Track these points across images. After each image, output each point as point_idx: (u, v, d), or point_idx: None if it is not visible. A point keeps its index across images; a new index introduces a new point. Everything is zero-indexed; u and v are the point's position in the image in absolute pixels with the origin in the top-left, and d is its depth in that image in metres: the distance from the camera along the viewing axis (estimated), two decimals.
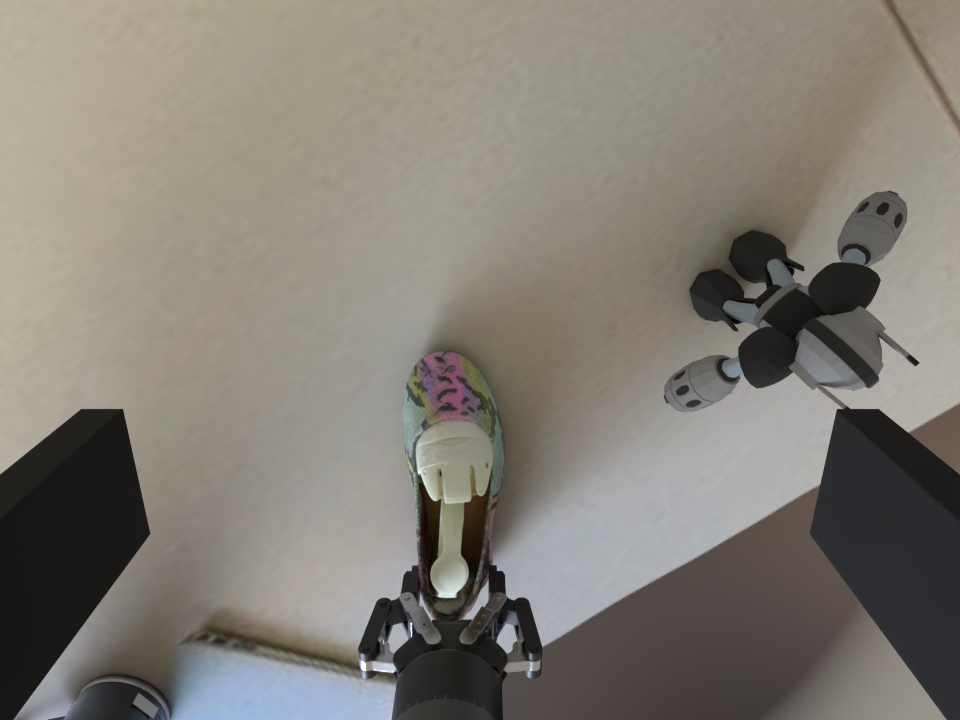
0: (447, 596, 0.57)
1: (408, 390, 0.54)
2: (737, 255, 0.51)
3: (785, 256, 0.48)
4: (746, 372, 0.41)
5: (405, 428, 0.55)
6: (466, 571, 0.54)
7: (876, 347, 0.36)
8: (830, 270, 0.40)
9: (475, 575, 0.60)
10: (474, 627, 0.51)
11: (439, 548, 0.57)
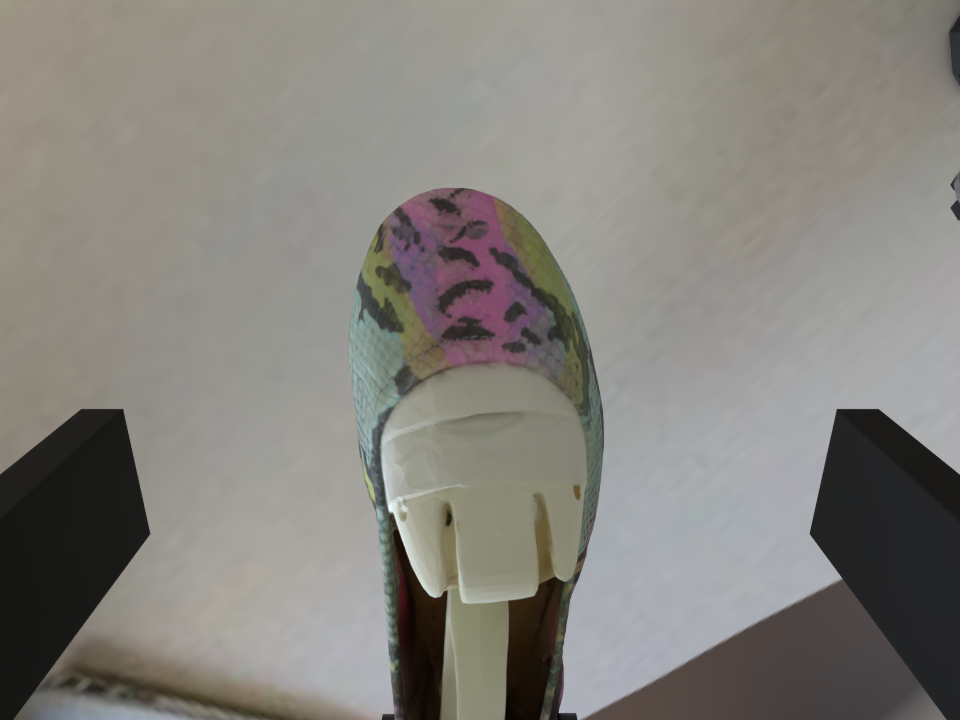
0: None
1: (361, 293, 0.20)
2: None
3: None
4: None
5: (357, 393, 0.21)
6: None
7: None
8: None
9: None
10: None
11: (444, 685, 0.24)
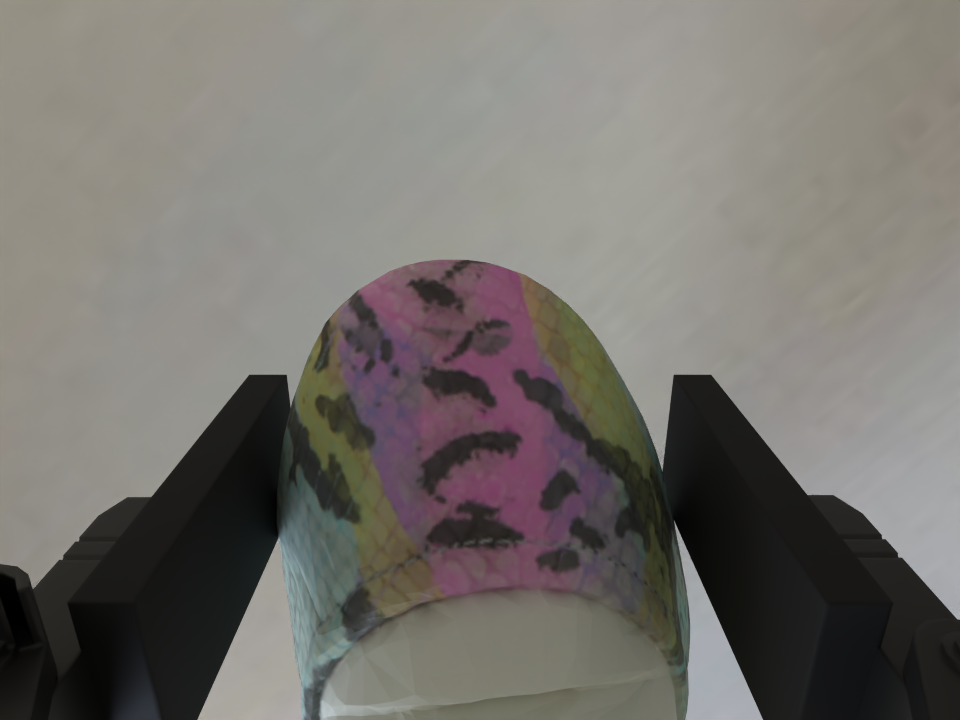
0: None
1: (293, 436, 0.12)
2: None
3: None
4: None
5: (289, 592, 0.13)
6: None
7: None
8: None
9: None
10: None
11: None
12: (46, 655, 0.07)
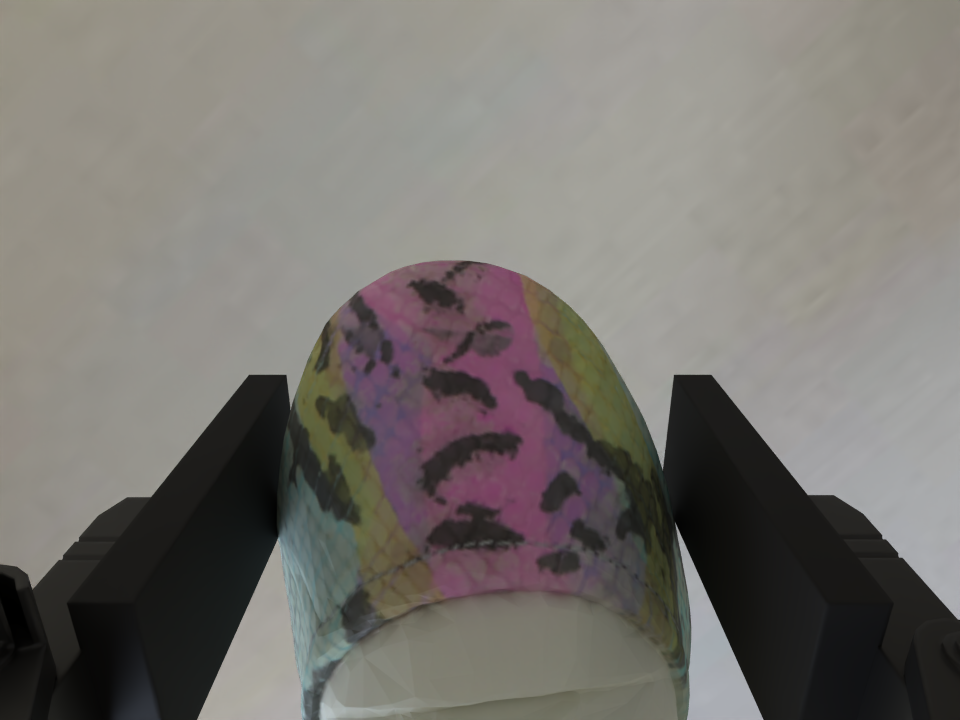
0: None
1: (294, 437, 0.12)
2: None
3: None
4: None
5: (289, 594, 0.13)
6: None
7: None
8: None
9: None
10: None
11: None
12: (46, 655, 0.07)
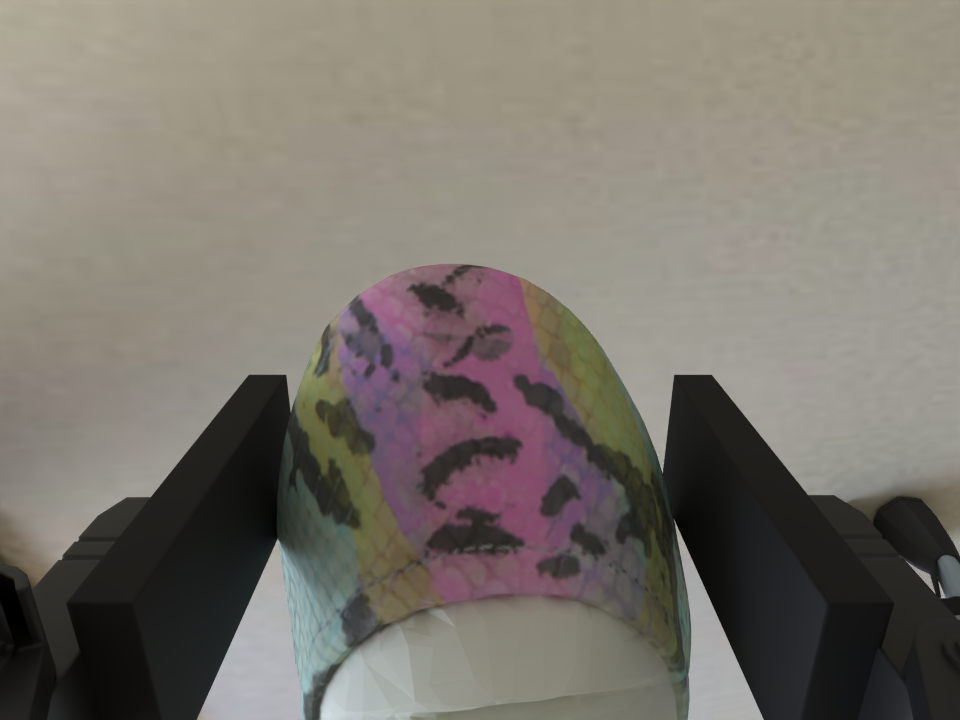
0: None
1: (294, 441, 0.12)
2: (897, 517, 0.42)
3: None
4: None
5: (289, 597, 0.13)
6: None
7: None
8: None
9: None
10: None
11: None
12: (45, 656, 0.07)
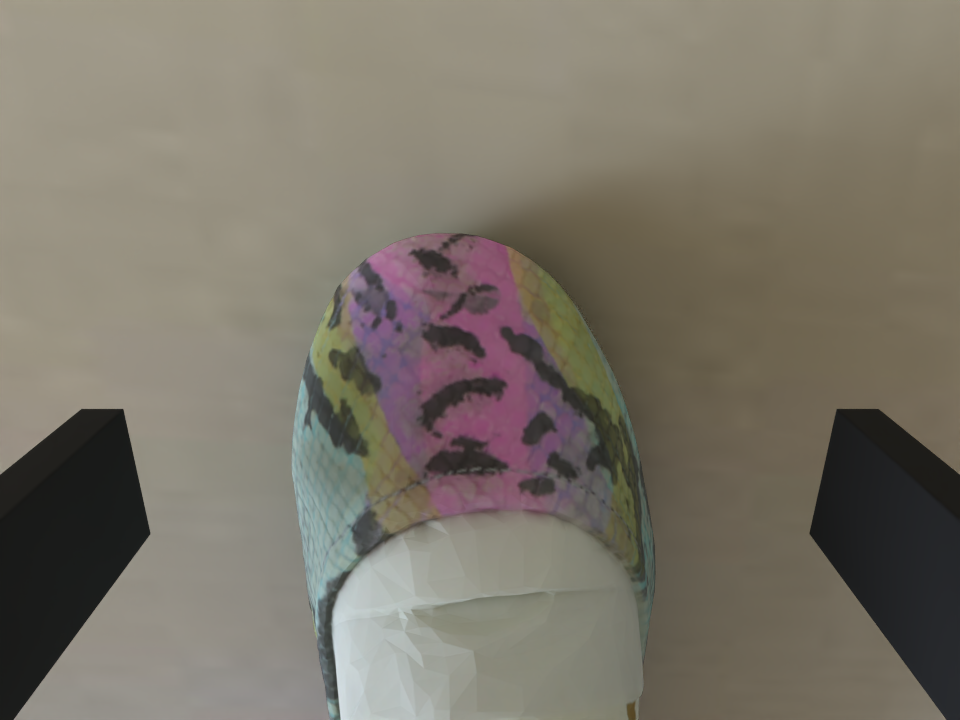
0: None
1: (308, 386, 0.14)
2: None
3: None
4: None
5: (302, 526, 0.15)
6: None
7: None
8: None
9: None
10: None
11: None
12: None
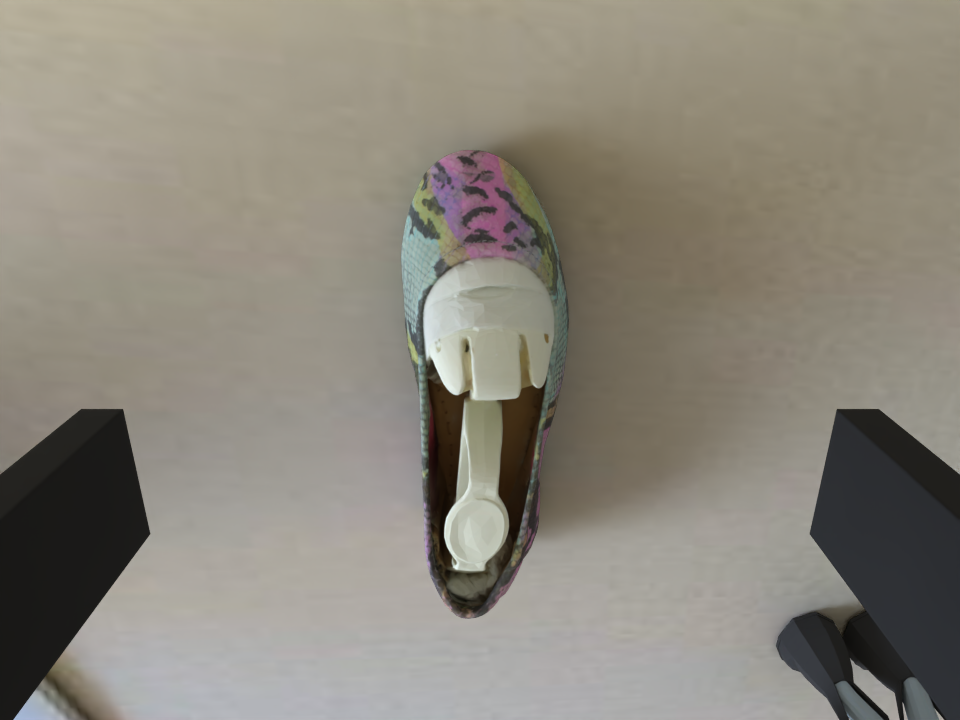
0: (470, 568, 0.35)
1: (412, 217, 0.32)
2: (868, 630, 0.43)
3: None
4: None
5: (406, 284, 0.33)
6: (505, 524, 0.32)
7: None
8: None
9: (513, 538, 0.38)
10: None
11: (458, 490, 0.35)
12: None
